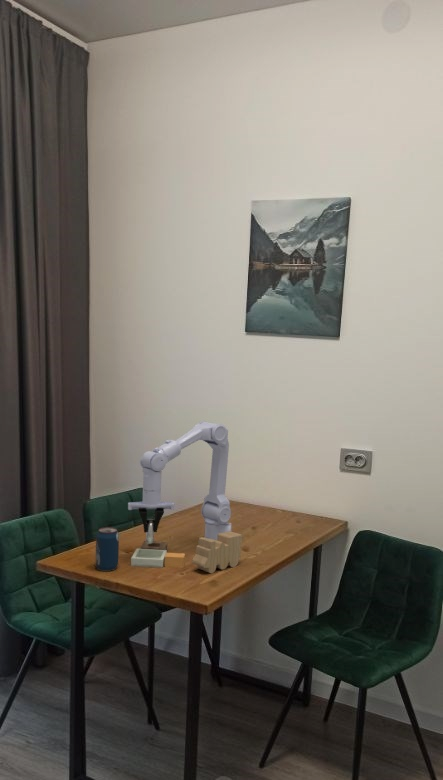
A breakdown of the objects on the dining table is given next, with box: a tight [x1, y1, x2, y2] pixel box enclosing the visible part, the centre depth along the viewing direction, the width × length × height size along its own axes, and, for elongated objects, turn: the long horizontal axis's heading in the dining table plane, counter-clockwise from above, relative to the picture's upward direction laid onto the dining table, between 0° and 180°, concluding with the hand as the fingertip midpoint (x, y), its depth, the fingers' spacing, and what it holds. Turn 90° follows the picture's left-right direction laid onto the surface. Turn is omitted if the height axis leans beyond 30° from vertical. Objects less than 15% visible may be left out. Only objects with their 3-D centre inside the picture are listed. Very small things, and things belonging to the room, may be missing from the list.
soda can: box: [94, 526, 120, 572], centre depth 198 cm, size 7×7×12 cm
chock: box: [163, 552, 186, 569], centre depth 203 cm, size 6×4×4 cm, turn 88°
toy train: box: [191, 530, 244, 575], centre depth 203 cm, size 6×17×10 cm, turn 135°
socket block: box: [139, 540, 168, 551], centre depth 216 cm, size 8×8×2 cm
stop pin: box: [145, 518, 155, 544], centre depth 205 cm, size 3×3×7 cm
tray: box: [130, 548, 168, 569], centre depth 206 cm, size 10×10×2 cm
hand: (150, 531), depth 205 cm, fingers closed on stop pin, 3 cm apart
